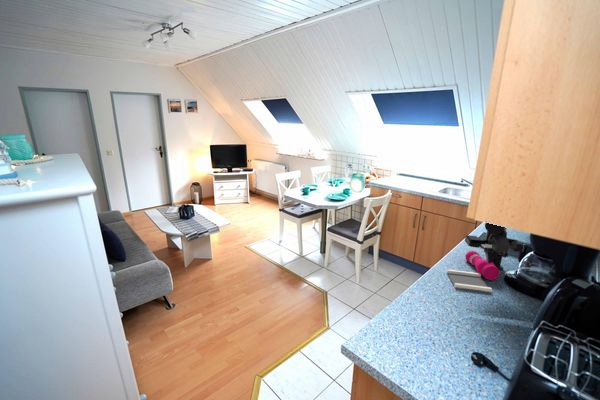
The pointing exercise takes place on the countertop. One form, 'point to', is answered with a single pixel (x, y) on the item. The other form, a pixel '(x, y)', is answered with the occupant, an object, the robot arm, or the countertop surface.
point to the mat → (468, 281)
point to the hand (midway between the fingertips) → (489, 262)
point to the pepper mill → (482, 265)
